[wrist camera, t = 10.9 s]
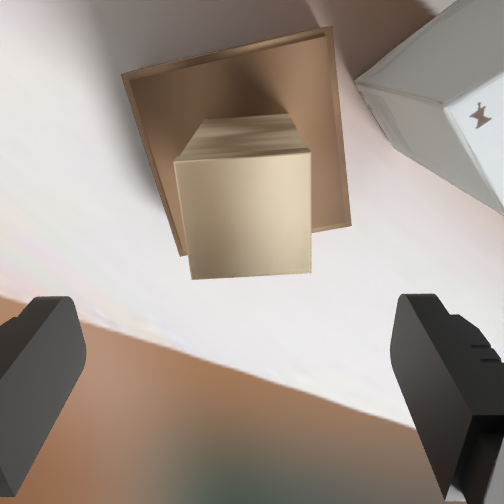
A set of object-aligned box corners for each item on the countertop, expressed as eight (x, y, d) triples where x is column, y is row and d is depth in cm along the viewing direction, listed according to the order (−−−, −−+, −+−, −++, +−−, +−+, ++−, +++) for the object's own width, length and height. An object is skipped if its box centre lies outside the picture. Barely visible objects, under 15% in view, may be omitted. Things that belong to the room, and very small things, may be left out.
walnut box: (319, 27, 26) (332, 26, 22) (338, 199, 32) (352, 227, 27) (142, 68, 28) (119, 74, 23) (189, 226, 33) (179, 257, 29)
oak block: (289, 112, 24) (311, 152, 15) (291, 195, 26) (311, 273, 17) (203, 118, 24) (173, 161, 15) (212, 200, 26) (191, 279, 17)
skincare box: (392, 147, 30) (501, 236, 16) (348, 76, 27) (433, 112, 14) (504, 70, 27) (739, 101, 14) (466, -15, 25) (701, -74, 12)
